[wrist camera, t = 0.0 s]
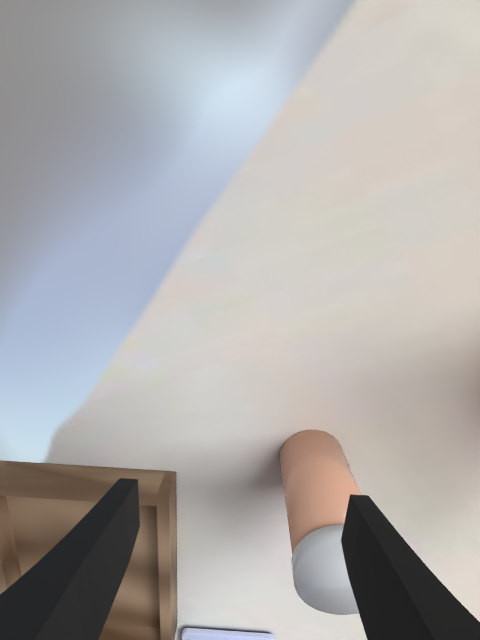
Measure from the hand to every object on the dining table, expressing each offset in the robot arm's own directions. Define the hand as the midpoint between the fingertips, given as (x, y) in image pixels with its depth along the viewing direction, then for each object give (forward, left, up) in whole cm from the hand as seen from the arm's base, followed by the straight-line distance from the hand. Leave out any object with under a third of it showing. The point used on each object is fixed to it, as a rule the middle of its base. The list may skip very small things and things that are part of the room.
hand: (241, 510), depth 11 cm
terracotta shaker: (-6, -5, -10) cm, 13 cm away
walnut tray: (-16, +11, -10) cm, 22 cm away
